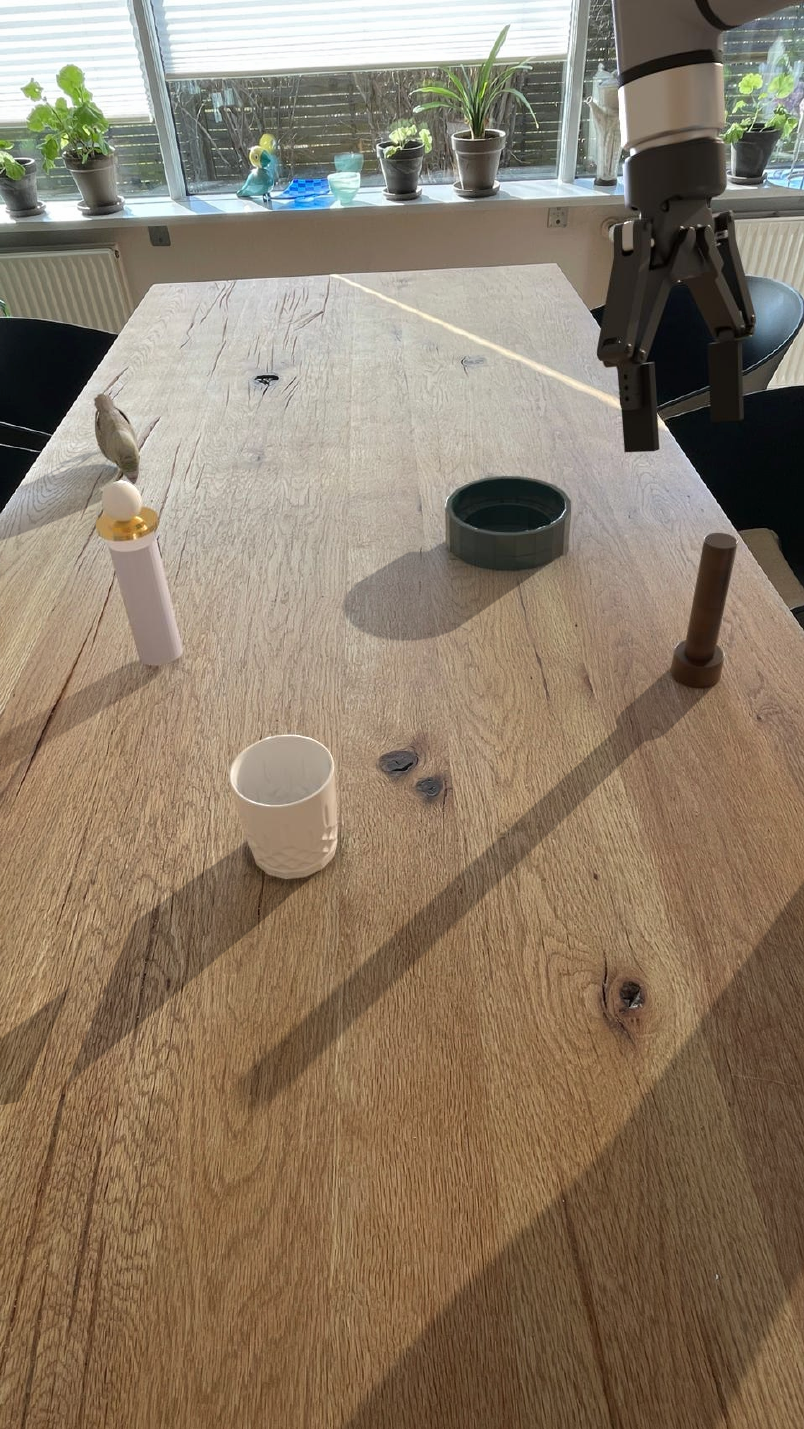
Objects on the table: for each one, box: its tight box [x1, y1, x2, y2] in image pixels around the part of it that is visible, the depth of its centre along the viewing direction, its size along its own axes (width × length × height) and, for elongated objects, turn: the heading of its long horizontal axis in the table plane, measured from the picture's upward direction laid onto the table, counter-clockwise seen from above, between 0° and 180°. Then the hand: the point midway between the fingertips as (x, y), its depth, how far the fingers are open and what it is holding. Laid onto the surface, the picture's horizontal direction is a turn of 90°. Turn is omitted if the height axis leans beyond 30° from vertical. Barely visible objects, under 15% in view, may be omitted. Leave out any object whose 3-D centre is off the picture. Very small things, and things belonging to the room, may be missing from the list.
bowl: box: [444, 475, 572, 572], centre depth 111 cm, size 14×14×6 cm
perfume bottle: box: [95, 480, 184, 667], centre depth 93 cm, size 6×6×20 cm
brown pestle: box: [670, 532, 739, 690], centre depth 87 cm, size 5×5×16 cm
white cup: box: [228, 734, 339, 880], centre depth 74 cm, size 8×8×10 cm
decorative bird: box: [93, 393, 141, 485], centre depth 135 cm, size 5×16×7 cm, turn 24°
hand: (686, 435), depth 79 cm, fingers open, 13 cm apart
